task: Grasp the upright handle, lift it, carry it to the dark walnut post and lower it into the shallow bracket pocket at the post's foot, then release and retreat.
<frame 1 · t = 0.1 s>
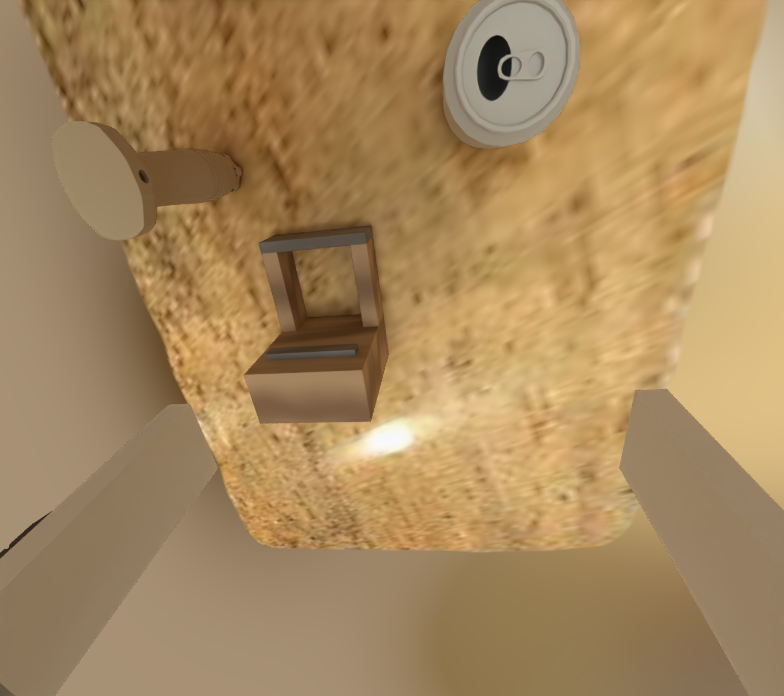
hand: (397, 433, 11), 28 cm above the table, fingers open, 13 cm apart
handle: (228, 173, 35), on the table
post bracket: (336, 307, 40), on the table
can: (489, 97, 30), on the table
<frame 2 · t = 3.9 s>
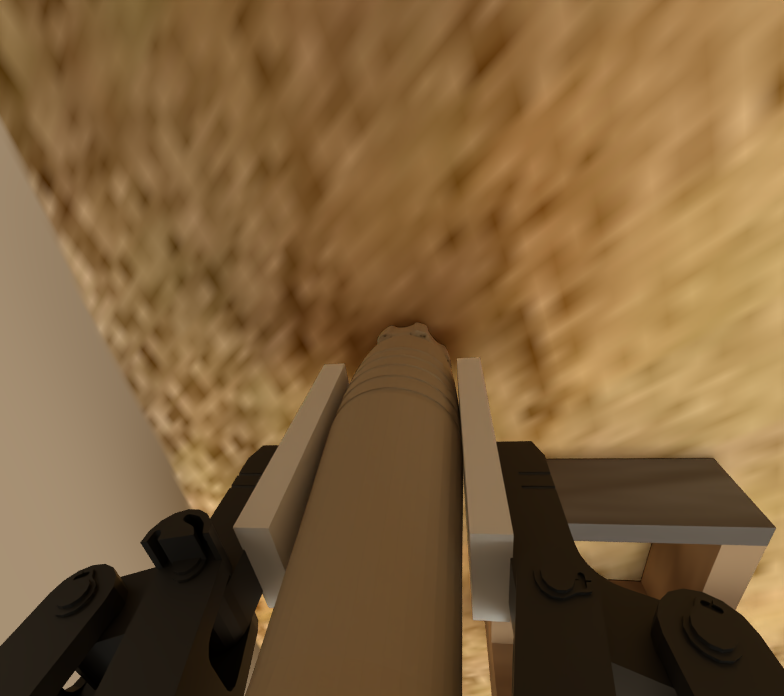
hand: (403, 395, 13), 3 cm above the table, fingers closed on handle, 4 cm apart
handle: (410, 351, 16), on the table, touching gripper
post bracket: (576, 567, 21), on the table
when the fingers open (5 cm above the table, at t = 8.5 s): handle drops 2 cm, resting in post bracket.
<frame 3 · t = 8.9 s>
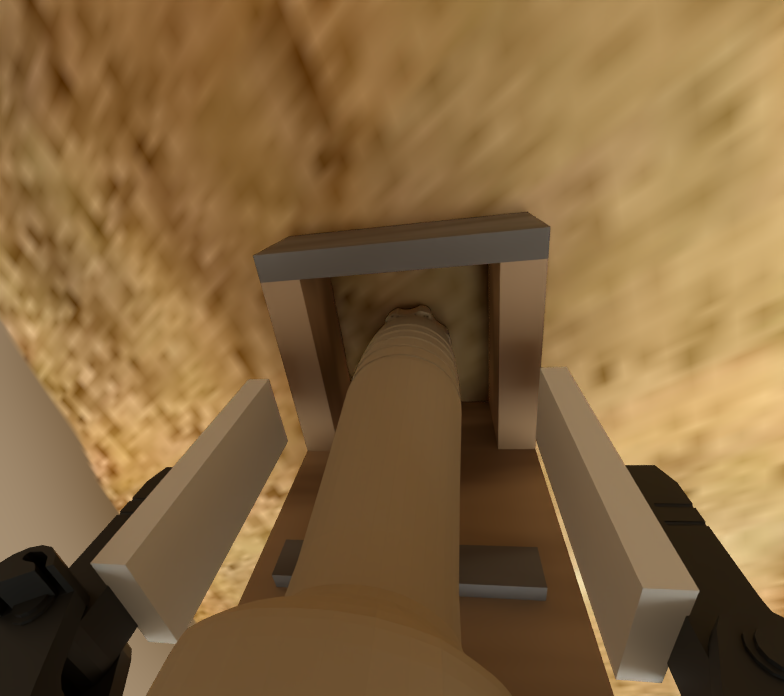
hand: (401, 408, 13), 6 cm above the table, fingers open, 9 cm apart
handle: (414, 332, 18), resting in post bracket
post bracket: (418, 387, 19), on the table
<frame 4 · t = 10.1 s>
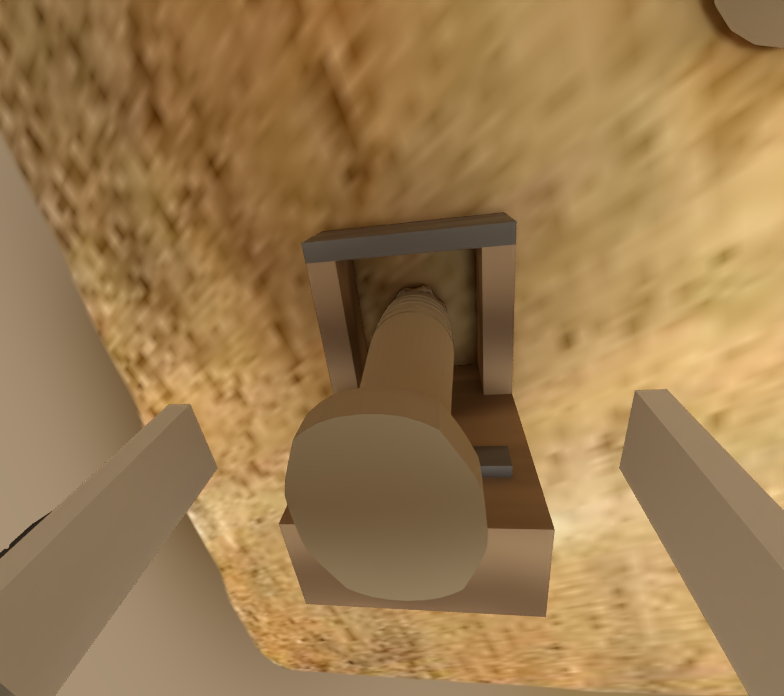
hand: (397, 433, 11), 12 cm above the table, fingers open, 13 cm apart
handle: (418, 307, 23), resting in post bracket
post bracket: (421, 353, 24), on the table
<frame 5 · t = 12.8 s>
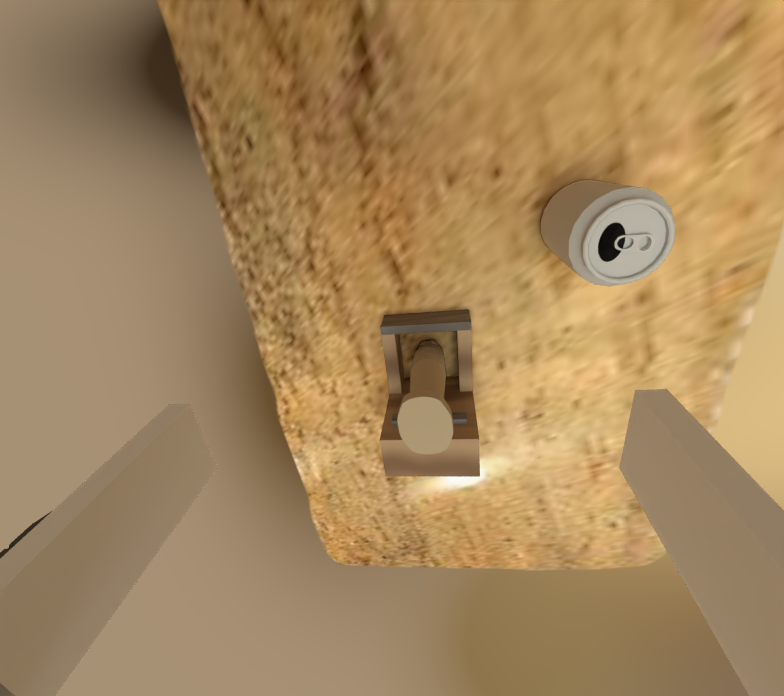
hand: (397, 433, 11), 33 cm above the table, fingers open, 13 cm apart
handle: (429, 349, 47), resting in post bracket
post bracket: (430, 370, 48), on the table
can: (576, 219, 38), on the table
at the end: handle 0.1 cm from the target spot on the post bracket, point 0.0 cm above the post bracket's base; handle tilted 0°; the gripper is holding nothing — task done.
